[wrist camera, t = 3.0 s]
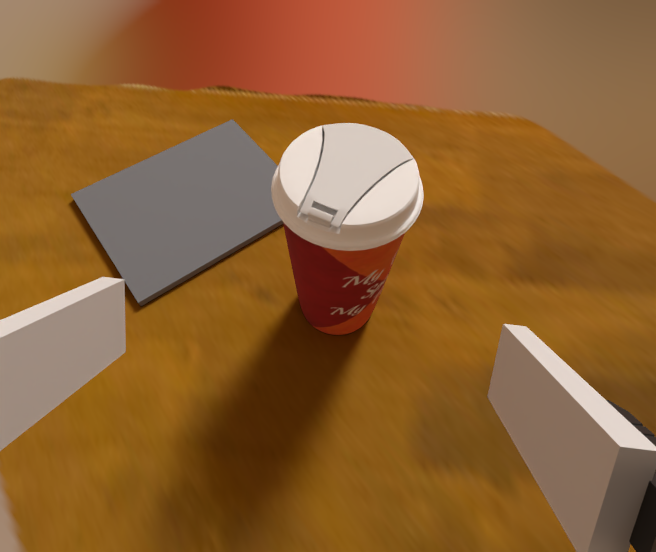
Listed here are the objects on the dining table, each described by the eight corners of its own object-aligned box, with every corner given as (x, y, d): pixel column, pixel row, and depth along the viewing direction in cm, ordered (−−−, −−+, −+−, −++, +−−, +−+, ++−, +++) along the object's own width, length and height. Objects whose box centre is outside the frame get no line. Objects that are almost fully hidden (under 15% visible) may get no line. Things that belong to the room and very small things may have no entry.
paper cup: (362, 367, 30) (393, 259, 18) (267, 322, 32) (237, 195, 20) (402, 280, 34) (451, 143, 22) (315, 244, 35) (315, 96, 23)
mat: (233, 124, 42) (232, 119, 42) (312, 206, 37) (312, 202, 37) (74, 199, 37) (70, 194, 37) (141, 306, 32) (138, 302, 32)
